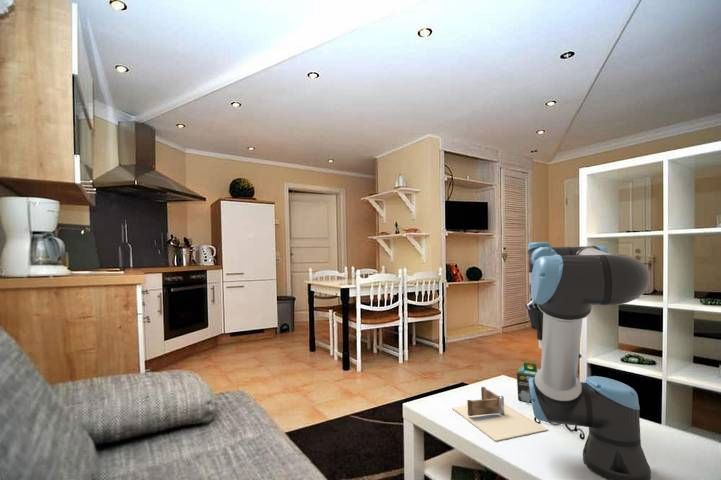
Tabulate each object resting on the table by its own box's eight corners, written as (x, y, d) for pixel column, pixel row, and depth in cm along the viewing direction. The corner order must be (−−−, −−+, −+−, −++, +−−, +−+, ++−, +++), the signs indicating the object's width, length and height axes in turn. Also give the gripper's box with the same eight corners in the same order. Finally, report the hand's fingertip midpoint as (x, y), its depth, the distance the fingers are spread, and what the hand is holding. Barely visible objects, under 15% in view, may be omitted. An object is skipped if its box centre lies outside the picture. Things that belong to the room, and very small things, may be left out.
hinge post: (505, 415, 128) (504, 397, 128) (501, 415, 127) (501, 397, 127) (502, 413, 129) (501, 395, 129) (498, 413, 129) (498, 396, 129)
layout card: (548, 430, 117) (548, 428, 117) (495, 441, 111) (495, 440, 111) (498, 401, 141) (497, 399, 141) (452, 408, 135) (452, 407, 135)
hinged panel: (497, 411, 129) (496, 397, 129) (499, 413, 127) (498, 398, 128) (467, 414, 127) (467, 400, 127) (469, 416, 126) (468, 401, 126)
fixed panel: (500, 413, 130) (500, 396, 130) (498, 414, 129) (497, 396, 130) (484, 403, 139) (483, 386, 139) (481, 403, 139) (481, 387, 139)
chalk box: (546, 397, 143) (544, 361, 144) (542, 405, 136) (541, 367, 136) (521, 392, 148) (520, 357, 149) (517, 400, 141) (515, 363, 142)
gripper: (546, 282, 134) (548, 344, 133) (518, 284, 130) (521, 348, 129) (562, 283, 127) (565, 349, 126) (534, 285, 123) (537, 353, 122)
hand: (543, 348), depth 128 cm, fingers closed
